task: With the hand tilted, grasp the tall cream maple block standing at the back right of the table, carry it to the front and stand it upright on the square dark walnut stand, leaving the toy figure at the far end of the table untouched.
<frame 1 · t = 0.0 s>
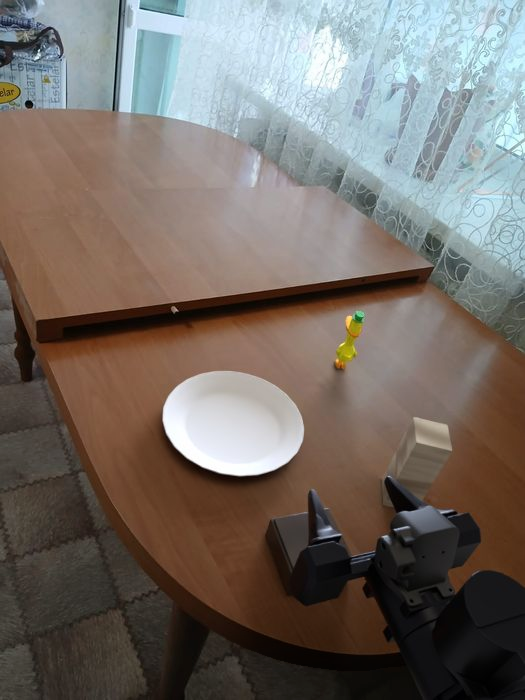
hand: (349, 484, 57), 15 cm above the table, tool horizontal, fingers open, 9 cm apart
toy figure: (339, 365, 98), on the table
plate: (232, 429, 81), on the table
stand: (305, 557, 67), on the table
block: (397, 495, 77), on the table
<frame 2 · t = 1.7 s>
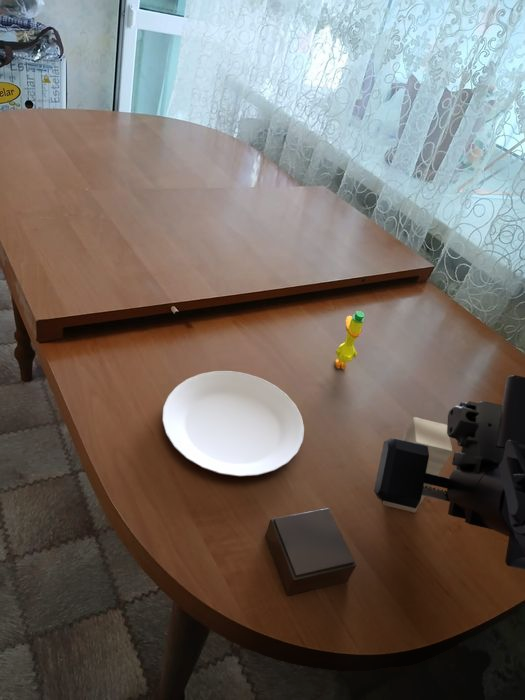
hand: (442, 479, 62), 13 cm above the table, tool tilted 45°, fingers open, 9 cm apart
nothing on the table moved.
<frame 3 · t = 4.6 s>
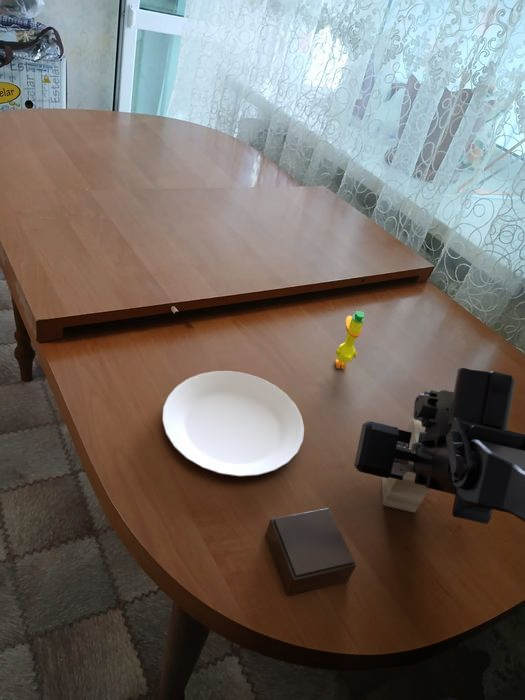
hand: (413, 458, 74), 7 cm above the table, tool tilted 45°, fingers closed on block, 4 cm apart
block: (397, 495, 77), on the table, touching gripper
everything else where it was.
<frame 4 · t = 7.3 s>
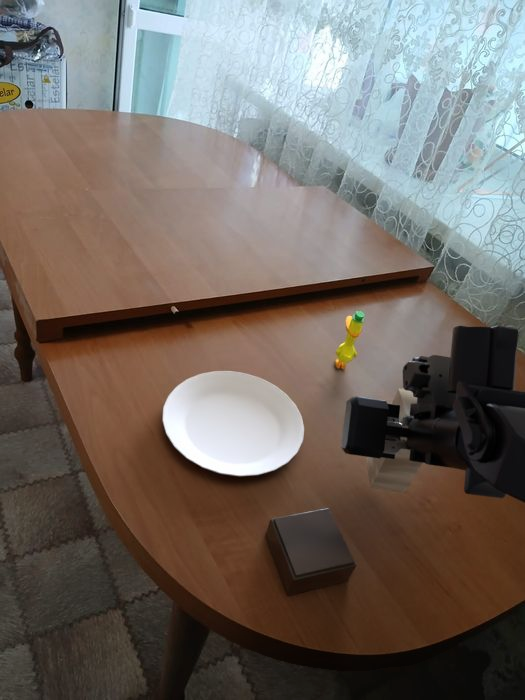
hand: (400, 433, 68), 13 cm above the table, tool tilted 45°, fingers closed on block, 4 cm apart
block: (385, 476, 70), point 7 cm above the table, touching gripper
everything else where it was.
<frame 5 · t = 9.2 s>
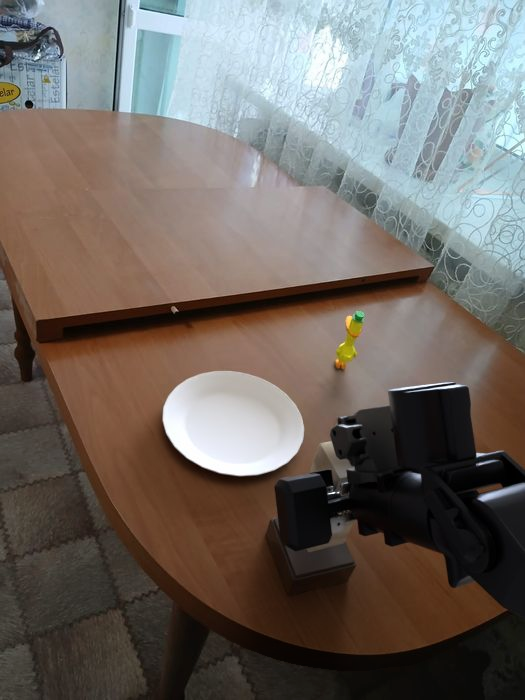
hand: (327, 485, 60), 13 cm above the table, tool tilted 45°, fingers closed on block, 4 cm apart
block: (317, 530, 63), point 6 cm above the table, touching gripper
everything else where it was.
when the fingers open (11 cm above the table, at t = 10.3 s): block stays where it is, resting on stand.
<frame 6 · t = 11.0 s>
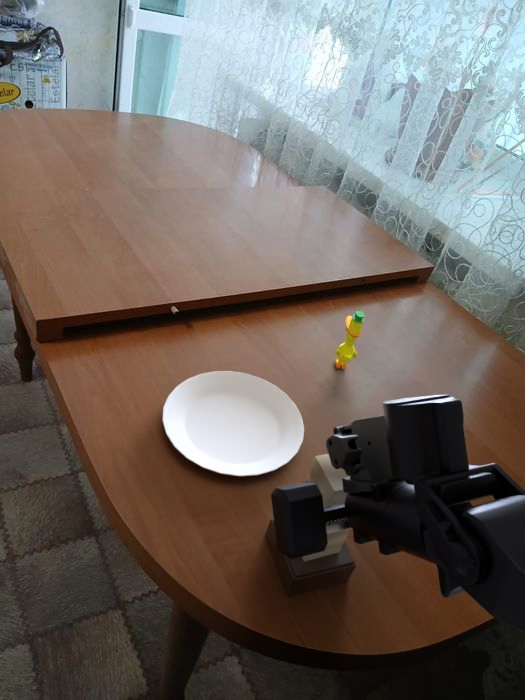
hand: (323, 492, 61), 11 cm above the table, tool tilted 45°, fingers open, 9 cm apart
block: (313, 539, 64), point 4 cm above the table, touching stand
everything else where it was.
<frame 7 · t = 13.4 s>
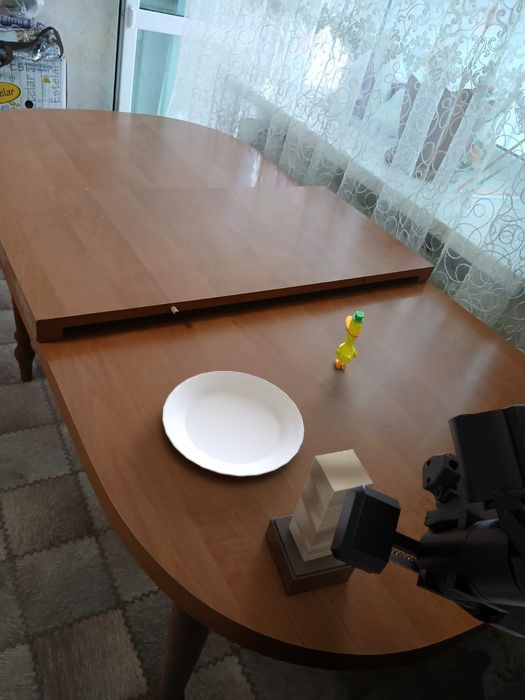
hand: (393, 561, 53), 13 cm above the table, tool tilted 30°, fingers open, 9 cm apart
nothing on the table moved.
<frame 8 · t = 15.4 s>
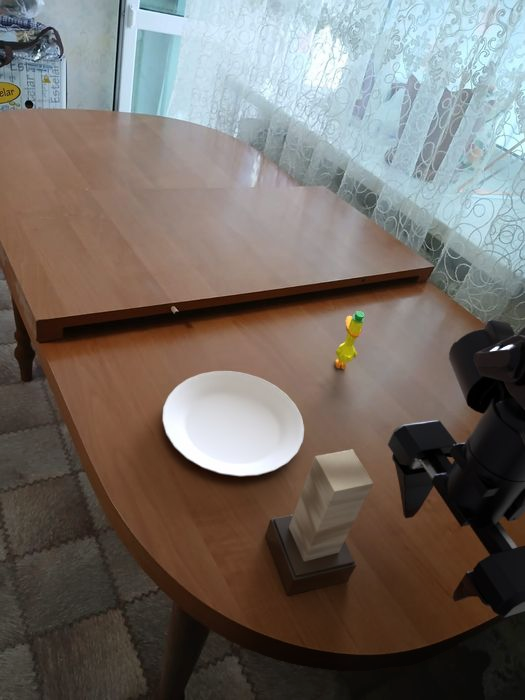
hand: (431, 555, 55), 13 cm above the table, tool pointing down, fingers open, 9 cm apart
nothing on the table moved.
at the end: block 0.0 cm off-centre on the stand, point 4.0 cm above the stand's base; block tilted 0°; toy figure moved 0.2 cm from its start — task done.
